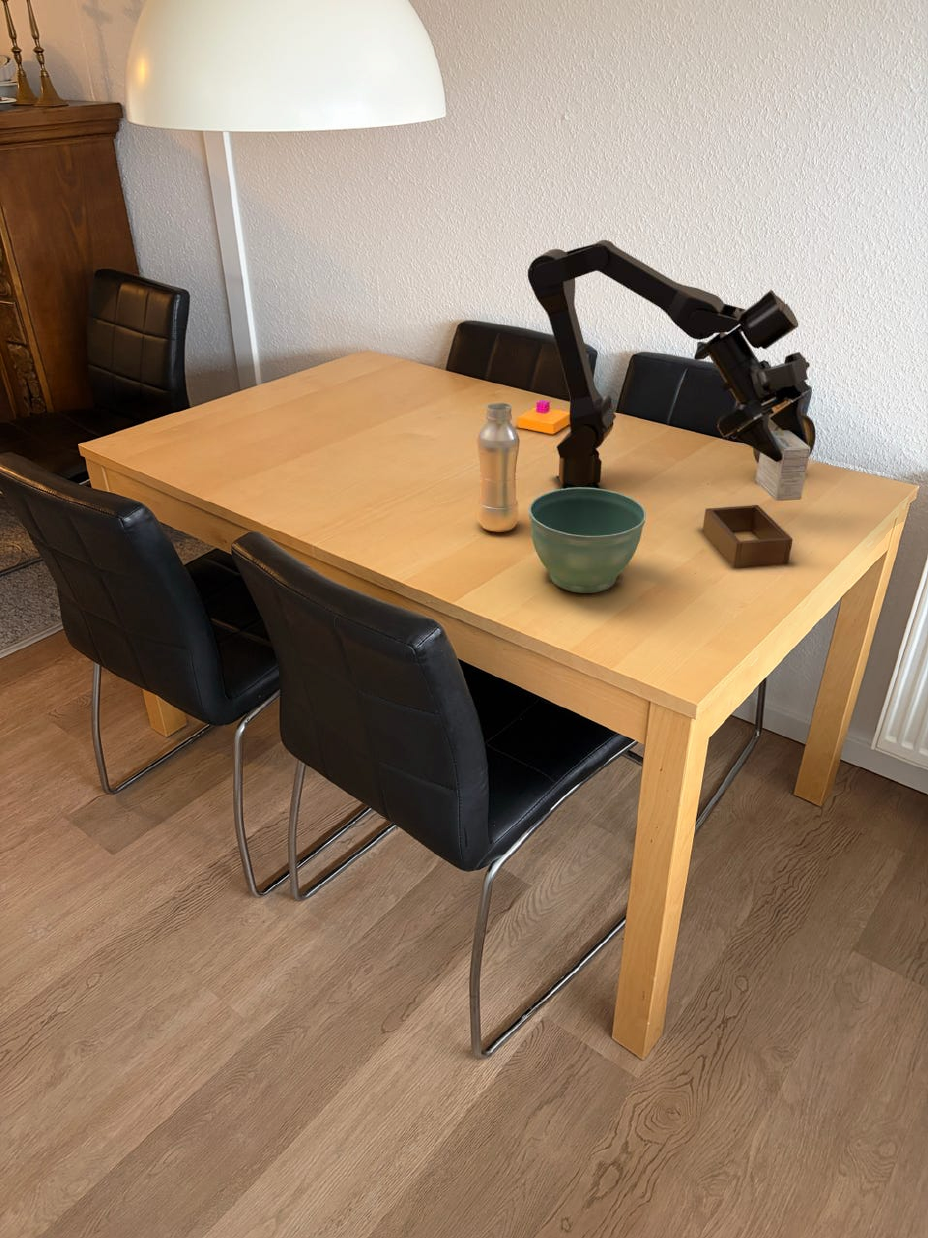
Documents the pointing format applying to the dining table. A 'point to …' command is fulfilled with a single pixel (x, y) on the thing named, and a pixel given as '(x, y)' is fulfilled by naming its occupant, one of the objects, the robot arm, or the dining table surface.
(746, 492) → the dining table surface
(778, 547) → the wooden box
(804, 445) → the medicine box
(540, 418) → the orange slab
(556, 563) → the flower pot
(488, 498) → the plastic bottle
